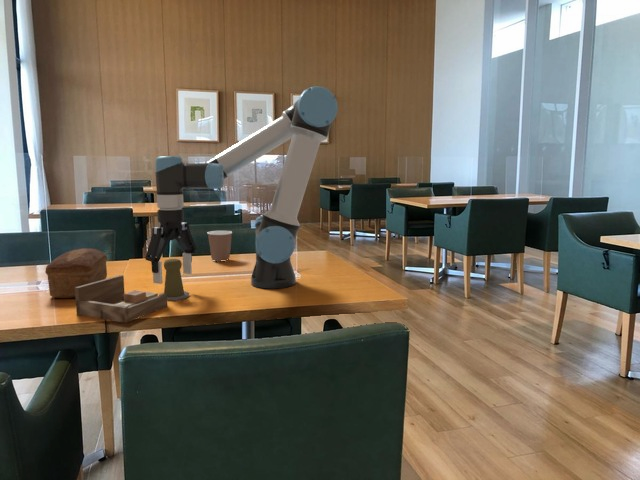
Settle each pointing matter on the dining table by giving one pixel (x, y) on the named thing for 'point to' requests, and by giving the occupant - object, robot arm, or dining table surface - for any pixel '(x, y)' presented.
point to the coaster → (177, 297)
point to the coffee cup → (220, 244)
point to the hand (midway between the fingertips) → (173, 278)
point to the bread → (75, 271)
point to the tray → (112, 301)
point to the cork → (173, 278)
